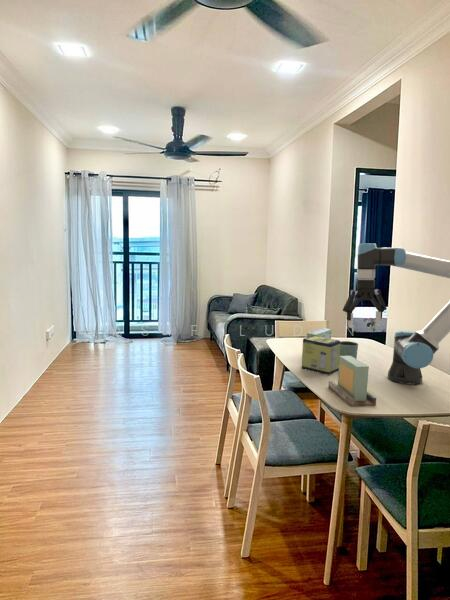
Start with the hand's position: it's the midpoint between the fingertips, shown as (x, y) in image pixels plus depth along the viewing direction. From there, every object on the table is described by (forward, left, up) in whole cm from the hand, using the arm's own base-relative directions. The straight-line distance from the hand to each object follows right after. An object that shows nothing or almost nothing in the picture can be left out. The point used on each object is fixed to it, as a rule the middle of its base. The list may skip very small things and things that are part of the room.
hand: (364, 326), depth 191 cm
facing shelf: (+11, +14, -27) cm, 32 cm away
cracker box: (+11, +14, -25) cm, 31 cm away
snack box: (+2, -46, -27) cm, 54 cm away
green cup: (-7, -29, -27) cm, 40 cm away
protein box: (+10, -23, -27) cm, 37 cm away
